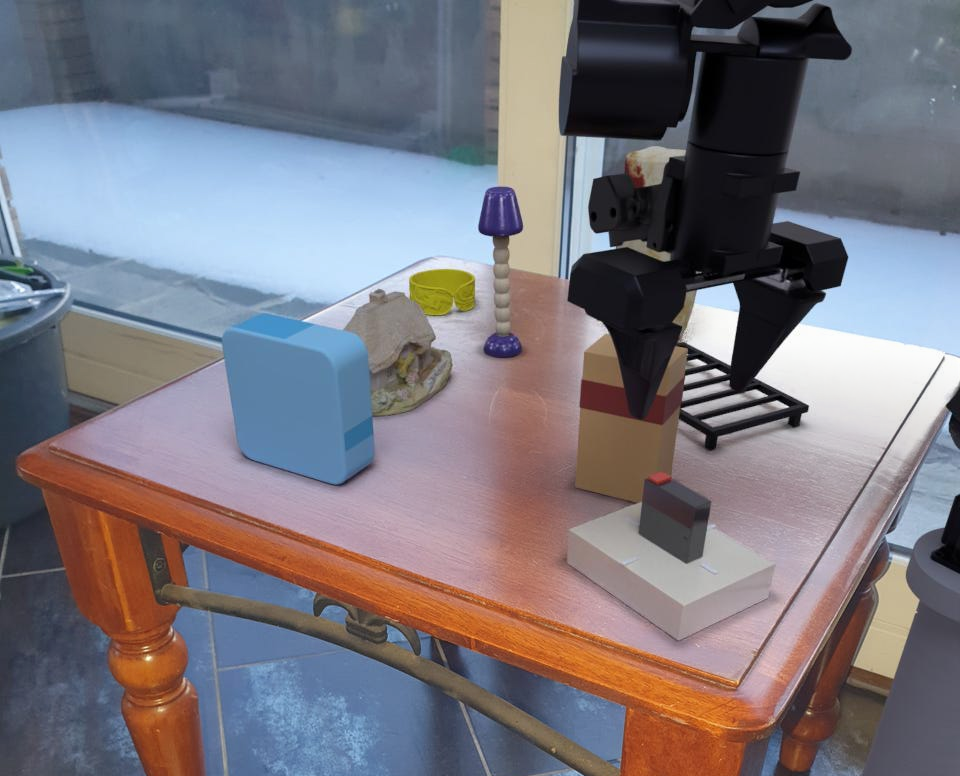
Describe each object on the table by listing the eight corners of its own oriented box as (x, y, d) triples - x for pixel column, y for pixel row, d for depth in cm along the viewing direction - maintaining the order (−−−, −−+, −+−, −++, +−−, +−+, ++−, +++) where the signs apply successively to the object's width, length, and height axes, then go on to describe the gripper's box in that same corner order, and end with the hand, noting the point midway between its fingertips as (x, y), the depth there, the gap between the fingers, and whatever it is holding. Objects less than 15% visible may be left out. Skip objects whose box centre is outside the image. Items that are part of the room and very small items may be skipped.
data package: (377, 468, 87) (368, 334, 80) (346, 489, 84) (334, 352, 77) (271, 437, 92) (253, 309, 85) (238, 457, 89) (217, 325, 82)
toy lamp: (483, 359, 108) (484, 195, 98) (473, 344, 111) (473, 184, 101) (526, 356, 109) (531, 193, 98) (515, 340, 112) (518, 182, 102)
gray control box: (702, 556, 70) (712, 497, 68) (686, 563, 70) (695, 504, 67) (654, 527, 74) (661, 469, 71) (638, 533, 73) (644, 475, 70)
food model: (598, 340, 112) (613, 146, 100) (621, 322, 117) (638, 135, 105) (679, 356, 108) (705, 157, 96) (700, 337, 113) (727, 145, 101)
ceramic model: (379, 427, 94) (373, 323, 88) (296, 398, 99) (284, 297, 93) (470, 380, 103) (470, 283, 97) (389, 356, 108) (384, 262, 102)
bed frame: (804, 426, 95) (809, 405, 93) (708, 453, 90) (712, 431, 89) (681, 361, 108) (683, 341, 106) (592, 381, 103) (593, 361, 102)
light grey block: (769, 597, 72) (777, 560, 70) (677, 641, 67) (683, 603, 66) (654, 527, 79) (659, 492, 78) (565, 563, 75) (567, 527, 73)
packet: (594, 465, 88) (605, 332, 81) (671, 484, 85) (689, 348, 78) (573, 487, 85) (583, 351, 77) (652, 507, 82) (669, 367, 75)
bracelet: (399, 301, 123) (398, 274, 121) (456, 291, 126) (456, 265, 124) (426, 319, 118) (425, 291, 116) (485, 308, 121) (485, 280, 119)
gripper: (745, 110, 66) (701, 340, 75) (521, 128, 57) (503, 386, 66) (884, 144, 59) (816, 393, 68) (654, 170, 50) (613, 452, 59)
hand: (688, 403), depth 66 cm, fingers open, 9 cm apart
